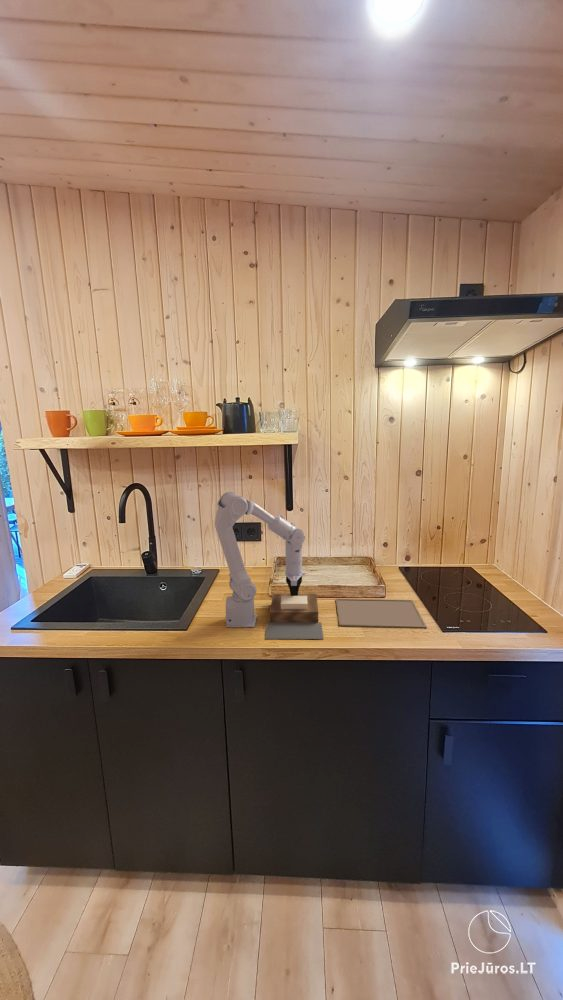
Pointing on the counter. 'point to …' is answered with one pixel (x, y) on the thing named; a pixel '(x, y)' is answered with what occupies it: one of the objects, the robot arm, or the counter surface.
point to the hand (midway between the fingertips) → (294, 596)
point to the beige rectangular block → (294, 602)
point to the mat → (294, 630)
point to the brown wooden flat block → (294, 610)
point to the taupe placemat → (378, 613)
